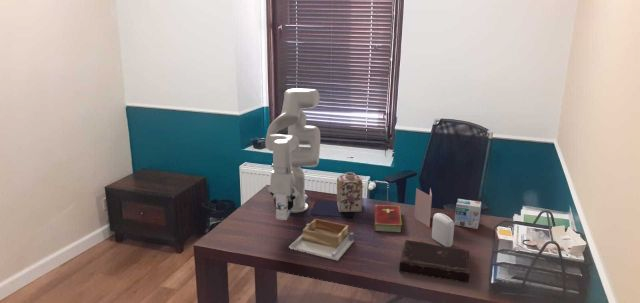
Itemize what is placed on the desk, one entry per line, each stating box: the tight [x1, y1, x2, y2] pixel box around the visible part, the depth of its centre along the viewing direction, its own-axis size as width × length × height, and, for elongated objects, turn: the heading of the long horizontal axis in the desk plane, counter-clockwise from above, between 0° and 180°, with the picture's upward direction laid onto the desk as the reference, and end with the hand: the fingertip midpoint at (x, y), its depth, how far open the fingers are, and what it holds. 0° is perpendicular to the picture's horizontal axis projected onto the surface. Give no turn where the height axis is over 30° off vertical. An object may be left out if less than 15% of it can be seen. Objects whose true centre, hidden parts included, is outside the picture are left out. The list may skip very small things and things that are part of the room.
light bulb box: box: [453, 198, 482, 230], centre depth 207 cm, size 11×7×11 cm, turn 68°
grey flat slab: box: [288, 222, 355, 261], centre depth 189 cm, size 17×22×4 cm
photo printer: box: [431, 212, 455, 247], centre depth 190 cm, size 10×4×12 cm, turn 26°
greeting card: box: [413, 187, 434, 228], centre depth 209 cm, size 11×7×15 cm, turn 170°
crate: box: [302, 218, 350, 248], centre depth 192 cm, size 12×16×5 cm
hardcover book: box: [374, 204, 403, 233], centre depth 211 cm, size 12×21×4 cm, turn 173°
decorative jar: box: [336, 171, 364, 213], centre depth 224 cm, size 12×12×18 cm
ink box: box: [275, 193, 292, 221], centre depth 195 cm, size 9×5×12 cm, turn 168°
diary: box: [398, 239, 470, 283], centre depth 174 cm, size 19×25×5 cm
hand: (283, 206), depth 196 cm, fingers closed on ink box, 5 cm apart
